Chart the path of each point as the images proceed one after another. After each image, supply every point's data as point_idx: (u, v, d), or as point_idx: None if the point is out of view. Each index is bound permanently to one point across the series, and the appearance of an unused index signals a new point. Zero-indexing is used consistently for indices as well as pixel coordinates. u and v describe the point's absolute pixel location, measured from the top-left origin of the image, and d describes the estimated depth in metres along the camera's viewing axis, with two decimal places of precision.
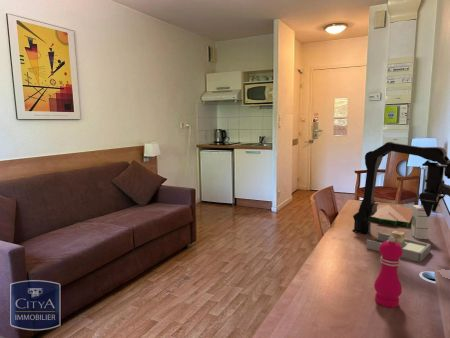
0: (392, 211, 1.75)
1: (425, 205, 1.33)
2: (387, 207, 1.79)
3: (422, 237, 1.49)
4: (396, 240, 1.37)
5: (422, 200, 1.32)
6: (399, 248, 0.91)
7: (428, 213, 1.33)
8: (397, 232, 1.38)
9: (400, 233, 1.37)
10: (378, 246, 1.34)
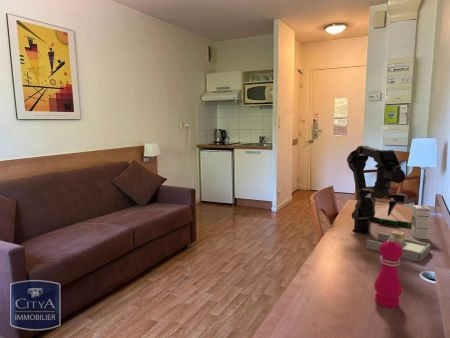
0: (393, 211, 1.75)
1: None
2: (388, 207, 1.79)
3: (422, 237, 1.49)
4: (396, 240, 1.37)
5: None
6: (399, 248, 0.91)
7: None
8: (397, 232, 1.38)
9: (400, 233, 1.37)
10: (378, 246, 1.34)
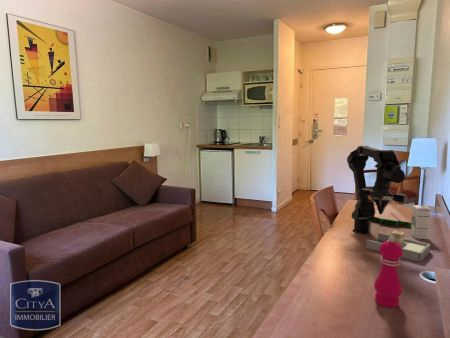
0: (394, 211, 1.75)
1: None
2: (389, 207, 1.78)
3: (422, 237, 1.49)
4: (396, 240, 1.37)
5: None
6: (399, 248, 0.91)
7: None
8: (397, 232, 1.38)
9: (400, 233, 1.37)
10: (378, 246, 1.34)
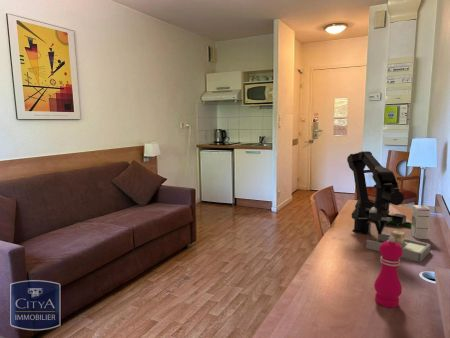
0: (395, 211, 1.75)
1: None
2: (390, 207, 1.78)
3: (422, 237, 1.49)
4: (396, 240, 1.37)
5: None
6: (399, 248, 0.91)
7: None
8: (397, 232, 1.38)
9: (400, 233, 1.37)
10: (378, 246, 1.34)
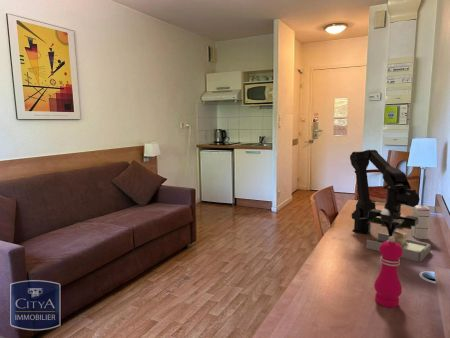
0: None
1: None
2: None
3: (422, 237, 1.49)
4: (398, 240, 1.36)
5: None
6: (399, 248, 0.91)
7: None
8: (399, 232, 1.38)
9: (402, 233, 1.36)
10: (378, 246, 1.34)
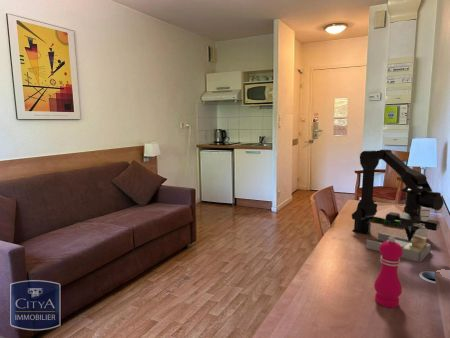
0: (397, 212, 1.74)
1: None
2: (392, 207, 1.78)
3: None
4: (418, 245, 1.31)
5: None
6: (399, 248, 0.91)
7: None
8: (418, 237, 1.32)
9: (422, 238, 1.31)
10: (378, 246, 1.34)
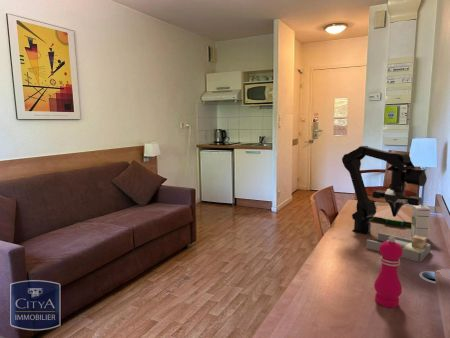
0: (399, 212, 1.74)
1: None
2: None
3: None
4: (418, 245, 1.31)
5: None
6: (399, 248, 0.91)
7: None
8: (418, 237, 1.32)
9: (422, 238, 1.31)
10: (378, 246, 1.34)
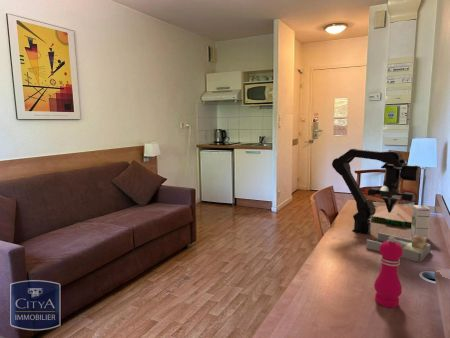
0: (400, 212, 1.74)
1: None
2: (395, 208, 1.77)
3: None
4: (418, 245, 1.31)
5: None
6: (399, 248, 0.91)
7: None
8: (418, 237, 1.32)
9: (422, 238, 1.31)
10: (378, 246, 1.34)
